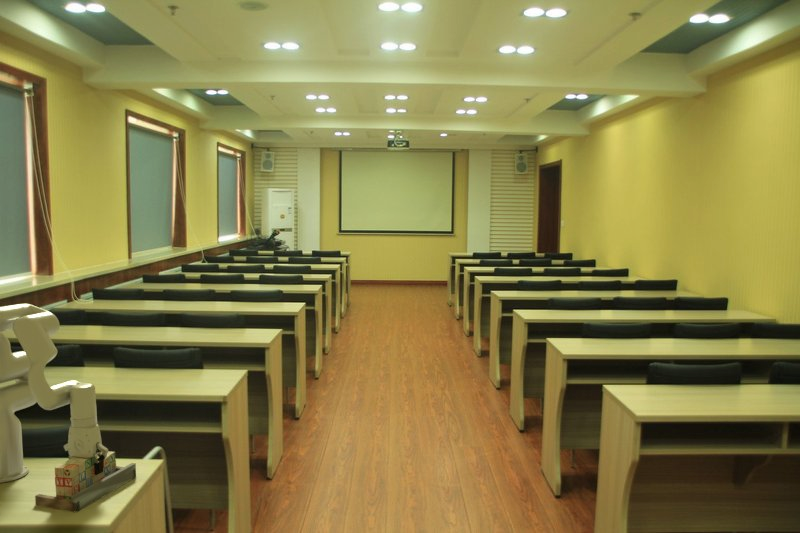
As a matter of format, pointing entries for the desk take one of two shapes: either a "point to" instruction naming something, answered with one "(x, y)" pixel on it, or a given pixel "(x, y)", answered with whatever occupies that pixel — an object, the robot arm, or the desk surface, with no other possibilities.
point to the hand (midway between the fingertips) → (87, 471)
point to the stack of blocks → (80, 474)
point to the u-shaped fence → (90, 491)
